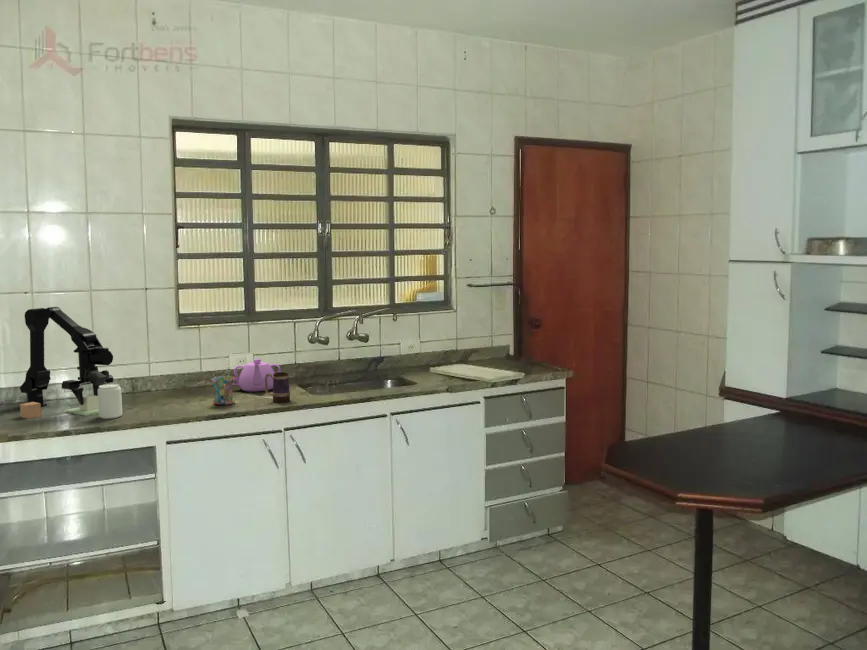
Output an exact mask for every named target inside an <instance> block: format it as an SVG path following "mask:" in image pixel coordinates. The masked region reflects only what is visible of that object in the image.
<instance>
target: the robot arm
mask: <svg viewBox="0 0 867 650" xmlns="http://www.w3.org/2000/svg"><path fill="white" fill-rule="evenodd" d="M50 319H51V321H53V322H54V323H55V324H56V325H57V326H59V327H60V328H61V329H63V330H64V331H65V332H66V333H67V334H69V336H70V339H71V341H72V342H73V344H75V347H76V348H75V349H74V350H73V353H74V354H75V353H77V354H78V366H77V367H76V369H77V370H78V371H79V372H78V373H79V376H78V377H77V380H76V379H69V380H63V381H62V382H61V389H63V390H69V391H71V392H72V393H73V394H74V396H75V398H76V400H77V401H78V404H79V403H80V404H79V406H80V405H83V396H84V395H83V393H84V389H85V388H84V387H83V386H84V385H89V384H90V385H91V384H92V390H93V395H96V396H98V388H99V386H100V385H105V384H112V383H114V382H115V381H114V376H113V375H112V374H110V371H109V370H107V369H106V370H102V371H99V367H98V365H99V366H110V365H111V364H112V363H113V361H114V355H113V354H112V351H110V350H109V347H104V346H103V345H102V343H101V342H100V340H99V338H98V337H97V334H96V333H95V332H94V331H92V330H90V329H89V328H86V327H84V326H81V325H79V324H78V323H77V322H75V321H74V320H73V319H72V318H71V317H70V316H68V315H67V314H66V313H65V312H64V311H63V310H62V309H61V307H58V306H49V307H46V308H44V307H39V308H30V309H27V310H26V311H25V312H24V322H25V325H26V327H27V329H28V330H29V355H30V356H29V357H30V359H29V361H30V363H29V364H30V365H29V368H28V369H27V370H26V373H25V378H24V379H25V380H24V381H23V383H22V384H21V385H20V386H19V391H20V393H22V394H23V393H24V394H25V395H26V397H25V398H26V403H30V402H36V403H41V407H45V406H47V405H48V404H47V403H44V394H43V391H46V390H48V387H49V384H50V381H51V380H52V379H51V370H50V369H47V368H46V366H45V330H46V328H47V326H48V325H49V320H50Z"/></svg>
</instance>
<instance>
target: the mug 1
mask: <svg viewBox="0 0 867 650" xmlns="http://www.w3.org/2000/svg"><path fill="white" fill-rule="evenodd" d="M235 379H236V378H235V377H234V376H230V375H228V376H227V375H223V376H222V375H220V376H215V377H212V378H211V382H212V384H213V386H214V392H215V394H214V399H213V404H215V405H216V406H217V405H218V406H227V405H231V404H234V403H235V401H236V400H235V399H234V395H233V387H234V385H233V383H234V382H235V381H234V380H235Z"/></svg>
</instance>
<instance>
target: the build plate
mask: <svg viewBox="0 0 867 650" xmlns="http://www.w3.org/2000/svg"><path fill="white" fill-rule="evenodd" d="M65 412H66V413H69V414H75V415H79V416H85V417H86V416H90V415H95V414H99V409H94V410H90V411H85V410H80V406H78V407H75V408H70V409H66V410H65Z"/></svg>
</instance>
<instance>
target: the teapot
mask: <svg viewBox="0 0 867 650" xmlns="http://www.w3.org/2000/svg"><path fill="white" fill-rule="evenodd" d="M252 360H253V362H248V363H246V364H245V365H241V364H239V365H236V366H235V367H234V369H233V373H234V376H235V380H234V383H233V386H238V387H239V388H240V389H241V390H242V391H245V392H248V393H249V392H250V393H251V392H266V389H265V376H266V375H267V374H271V375H272V376H273V375H274V373H276V372H275V370H274V368H273V367H277V373H279V372H282V369H281V367H280V365H279V364H277V363H271V364H270V363H269V362H266V361H262V359H261V358H254V359H252ZM239 368H240V369H241V368H242V369H241V371H240V374H239V376H238V372H237V371H238V370H237V369H239ZM267 388H268V391H269V390H273V378H271V376H269V377H268V378H267Z"/></svg>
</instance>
